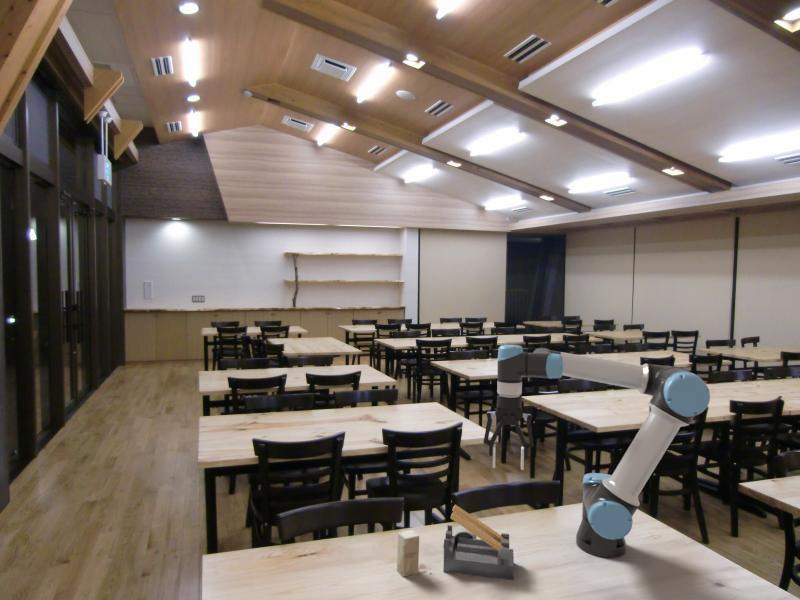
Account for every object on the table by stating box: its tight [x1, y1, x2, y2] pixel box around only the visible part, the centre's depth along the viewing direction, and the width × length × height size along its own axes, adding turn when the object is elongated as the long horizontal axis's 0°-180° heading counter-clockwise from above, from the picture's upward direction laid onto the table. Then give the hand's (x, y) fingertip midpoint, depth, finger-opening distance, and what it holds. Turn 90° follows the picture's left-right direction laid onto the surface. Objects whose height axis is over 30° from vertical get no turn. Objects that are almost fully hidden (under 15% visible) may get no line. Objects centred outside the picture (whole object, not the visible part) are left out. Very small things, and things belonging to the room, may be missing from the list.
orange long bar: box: [451, 504, 508, 544], centre depth 159 cm, size 19×2×2 cm, turn 78°
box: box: [396, 529, 420, 577], centre depth 153 cm, size 5×4×11 cm
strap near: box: [450, 511, 508, 552], centre depth 153 cm, size 19×2×2 cm, turn 78°
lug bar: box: [443, 524, 455, 559], centre depth 158 cm, size 2×10×5 cm, turn 169°
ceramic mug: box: [442, 524, 478, 549], centre depth 166 cm, size 11×8×8 cm
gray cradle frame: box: [443, 532, 515, 581], centre depth 156 cm, size 20×10×9 cm, turn 79°
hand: (508, 467), depth 164 cm, fingers open, 8 cm apart
